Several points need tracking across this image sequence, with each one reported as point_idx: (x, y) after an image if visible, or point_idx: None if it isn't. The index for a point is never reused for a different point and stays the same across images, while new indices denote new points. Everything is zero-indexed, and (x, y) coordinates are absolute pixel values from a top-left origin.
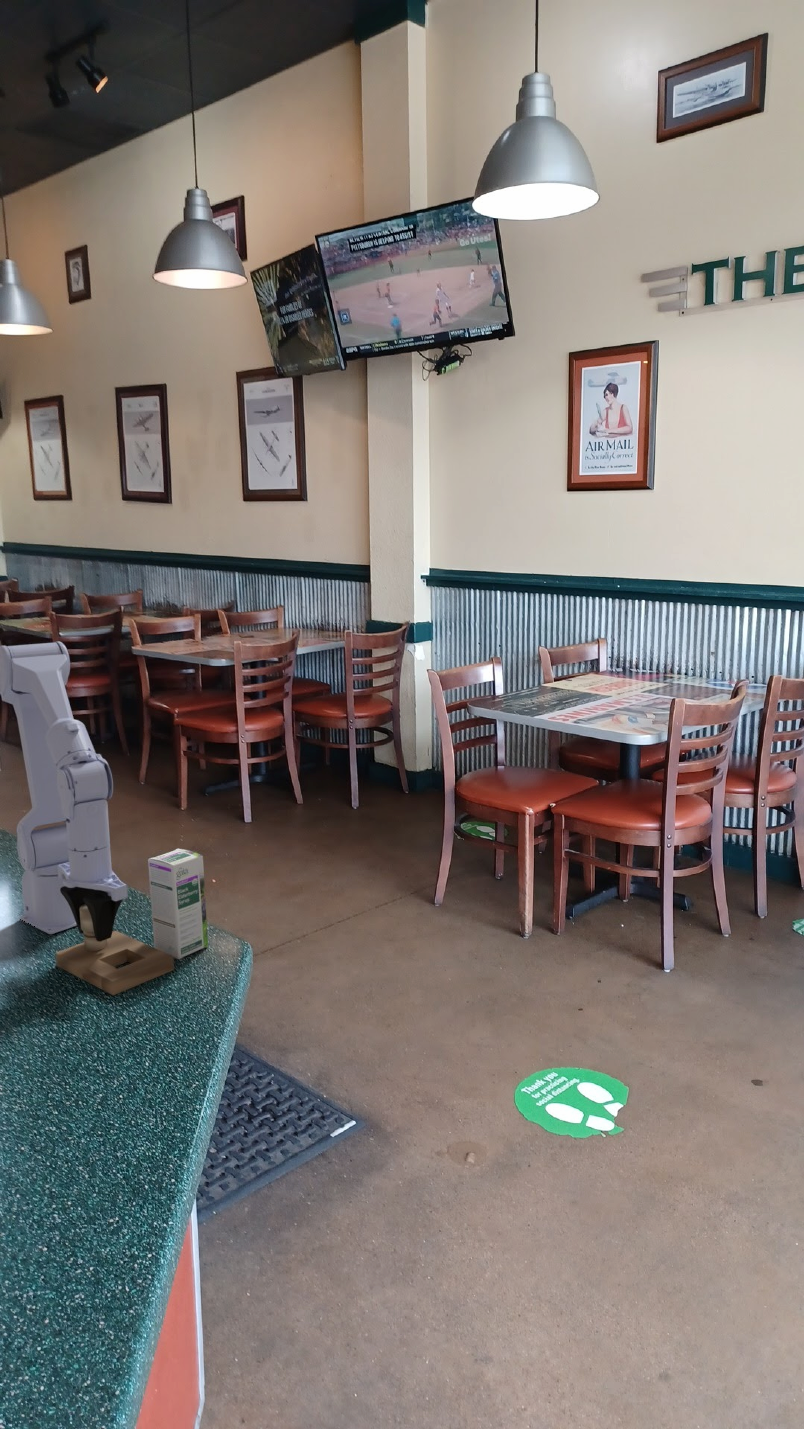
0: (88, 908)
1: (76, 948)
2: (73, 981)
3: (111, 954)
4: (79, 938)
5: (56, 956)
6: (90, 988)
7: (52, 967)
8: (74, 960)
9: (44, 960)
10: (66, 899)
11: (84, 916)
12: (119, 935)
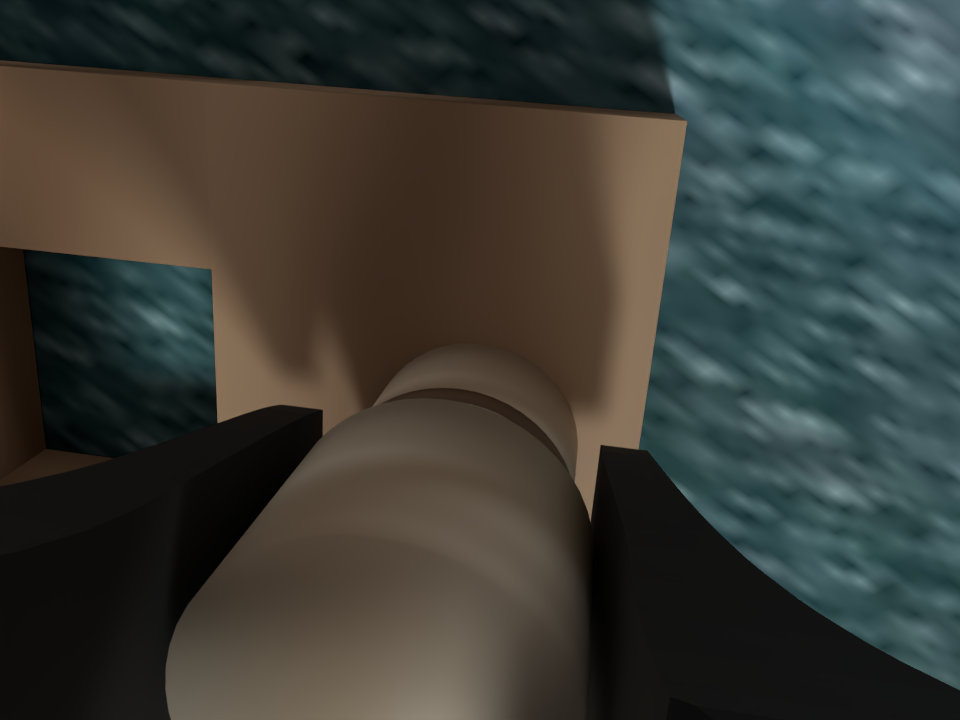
0: (20, 535)
1: (584, 310)
2: (292, 9)
3: (219, 397)
4: (950, 576)
5: (668, 117)
6: (81, 17)
7: (683, 72)
8: (364, 119)
9: (879, 121)
10: (858, 654)
11: (336, 491)
12: None
